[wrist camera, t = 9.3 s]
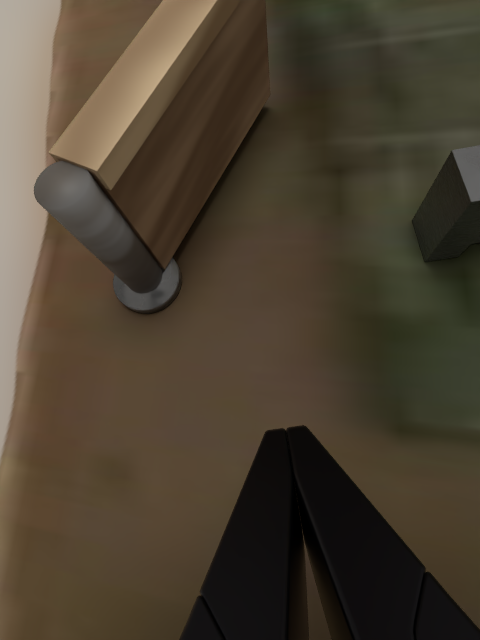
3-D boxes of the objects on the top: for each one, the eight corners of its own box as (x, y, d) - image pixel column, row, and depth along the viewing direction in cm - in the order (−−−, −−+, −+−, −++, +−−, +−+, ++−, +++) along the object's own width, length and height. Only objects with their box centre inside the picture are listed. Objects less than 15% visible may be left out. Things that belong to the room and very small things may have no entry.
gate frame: (640, 240, 21) (771, 167, 15) (118, 318, 24) (65, 280, 18) (607, 178, 22) (716, 90, 17) (118, 258, 25) (69, 206, 19)
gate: (273, 95, 27) (266, -71, 18) (151, 299, 23) (66, 214, 14) (242, 87, 27) (221, -78, 18) (118, 284, 23) (17, 193, 15)
